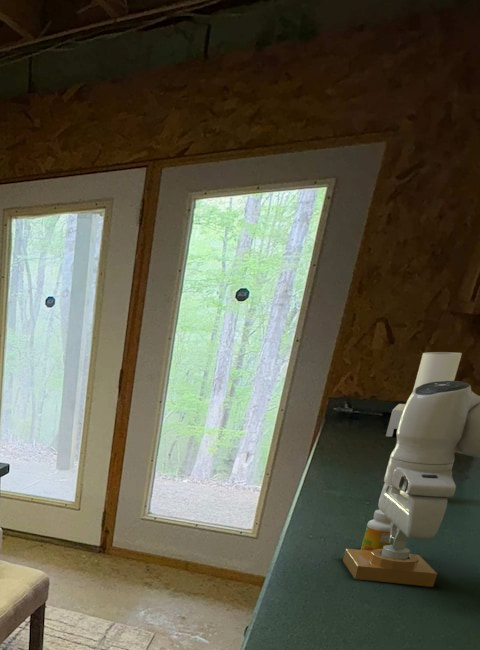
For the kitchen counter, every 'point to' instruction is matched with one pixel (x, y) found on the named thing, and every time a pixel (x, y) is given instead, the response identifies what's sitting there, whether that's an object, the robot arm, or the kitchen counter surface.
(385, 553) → the grey button cap
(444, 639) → the kitchen counter surface
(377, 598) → the kitchen counter surface
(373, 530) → the supplement bottle
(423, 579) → the button base
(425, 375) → the white toy chair
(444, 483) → the robot arm
